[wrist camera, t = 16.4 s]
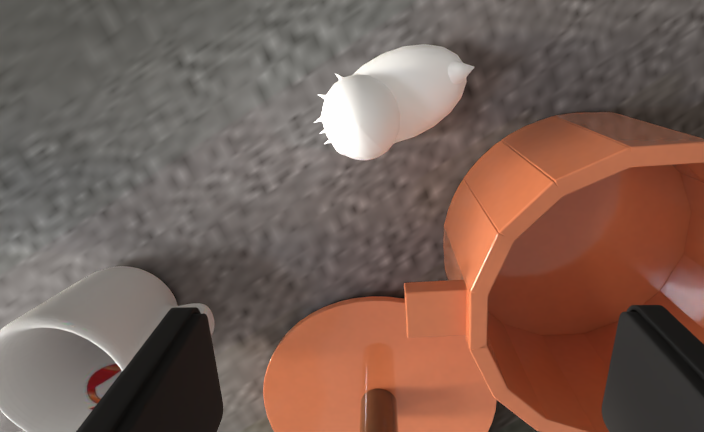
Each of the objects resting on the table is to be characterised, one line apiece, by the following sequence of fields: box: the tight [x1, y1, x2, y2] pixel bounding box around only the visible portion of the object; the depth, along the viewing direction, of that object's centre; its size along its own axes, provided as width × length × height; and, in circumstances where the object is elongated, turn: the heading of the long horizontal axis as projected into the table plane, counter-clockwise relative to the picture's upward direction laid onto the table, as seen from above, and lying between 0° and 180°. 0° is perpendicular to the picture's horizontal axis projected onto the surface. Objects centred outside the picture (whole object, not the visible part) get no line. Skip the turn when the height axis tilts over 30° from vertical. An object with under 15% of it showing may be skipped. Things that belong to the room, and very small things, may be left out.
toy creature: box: [314, 44, 474, 160], centre depth 22 cm, size 5×8×6 cm, turn 114°
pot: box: [404, 112, 704, 432], centre depth 24 cm, size 15×20×8 cm
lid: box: [263, 296, 497, 432], centre depth 29 cm, size 16×16×6 cm
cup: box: [0, 266, 215, 432], centre depth 27 cm, size 11×8×8 cm
